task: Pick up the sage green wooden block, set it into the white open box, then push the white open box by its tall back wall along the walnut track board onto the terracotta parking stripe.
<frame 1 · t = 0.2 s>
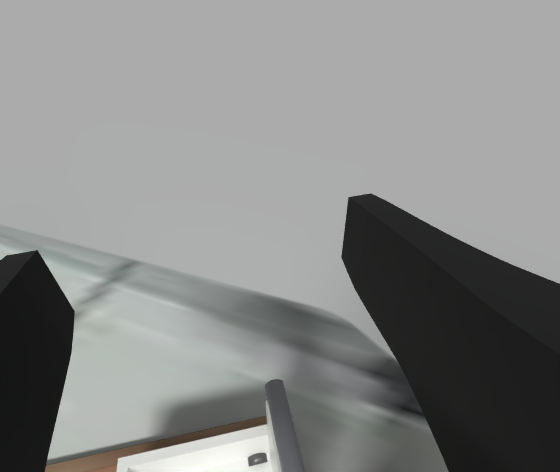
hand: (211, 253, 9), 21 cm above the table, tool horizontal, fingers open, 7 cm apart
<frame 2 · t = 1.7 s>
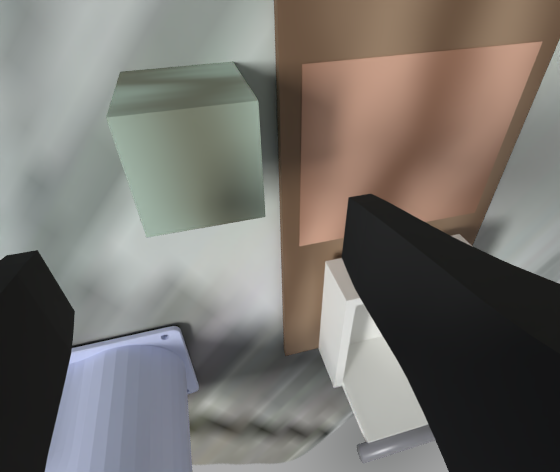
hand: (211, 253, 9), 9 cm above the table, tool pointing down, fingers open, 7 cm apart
track board: (390, 210, 22), on the table
white open box: (410, 342, 22), point 5 cm above the table, slide at 0.0 cm
block: (188, 120, 16), on the table
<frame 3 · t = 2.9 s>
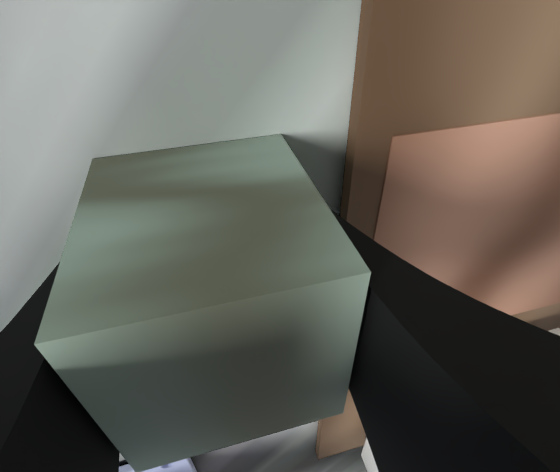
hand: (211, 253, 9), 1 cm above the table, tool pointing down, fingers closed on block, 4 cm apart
track board: (471, 302, 16), on the table
block: (205, 220, 10), on the table, touching gripper
when the fingers open (5 cm above the table, at t = 6.5 s): block drops 1 cm, resting on white open box.
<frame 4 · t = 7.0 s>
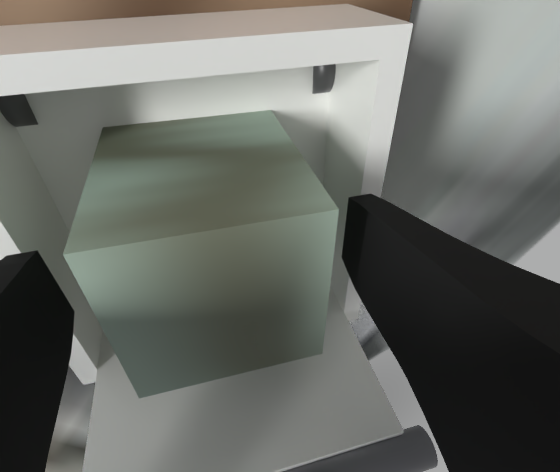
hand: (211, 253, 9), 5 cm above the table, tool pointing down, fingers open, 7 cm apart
white open box: (214, 268, 9), point 5 cm above the table, slide at 0.0 cm, touching block
block: (202, 189, 11), point 2 cm above the table, touching white open box
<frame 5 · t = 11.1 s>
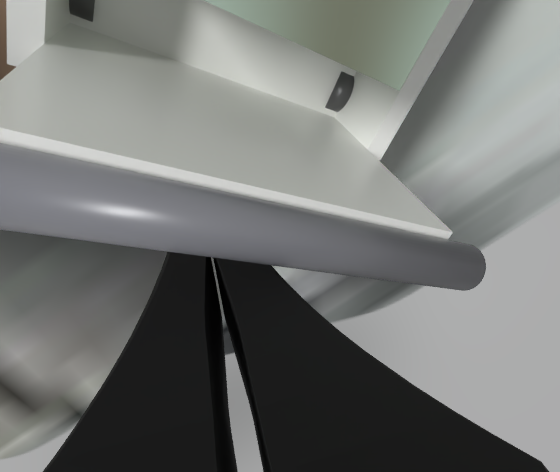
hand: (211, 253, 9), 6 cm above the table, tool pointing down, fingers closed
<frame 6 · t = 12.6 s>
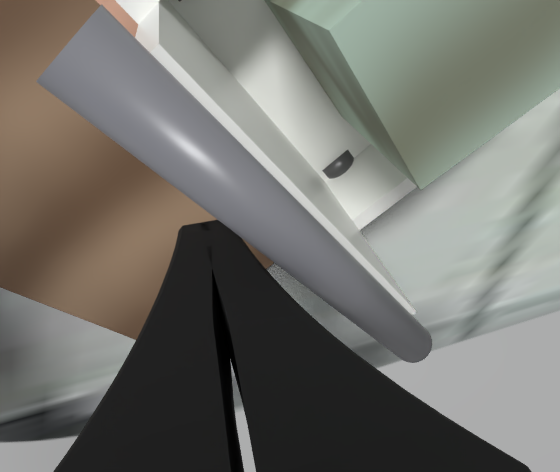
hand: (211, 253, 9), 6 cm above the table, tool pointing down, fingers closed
track board: (237, 99, 13), on the table
white open box: (411, 39, 8), point 5 cm above the table, slide at 11.1 cm, touching block, gripper
block: (365, 11, 10), point 2 cm above the table, touching white open box
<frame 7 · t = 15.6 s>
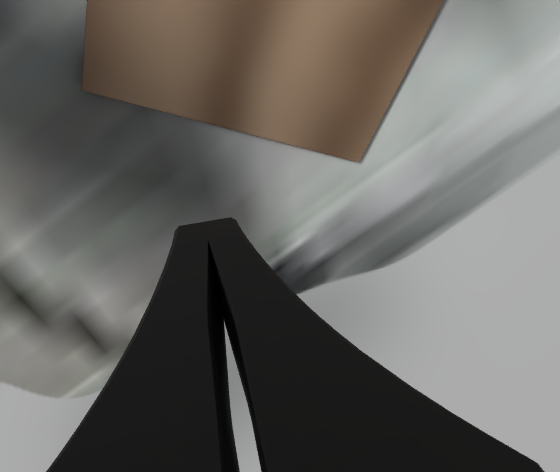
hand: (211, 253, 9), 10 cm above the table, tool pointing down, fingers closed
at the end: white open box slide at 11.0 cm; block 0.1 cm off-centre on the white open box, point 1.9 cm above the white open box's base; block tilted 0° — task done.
